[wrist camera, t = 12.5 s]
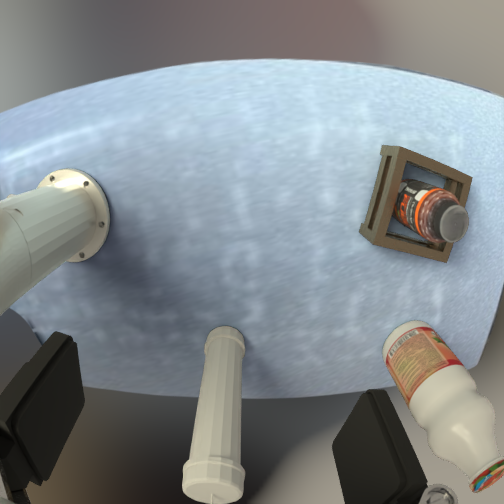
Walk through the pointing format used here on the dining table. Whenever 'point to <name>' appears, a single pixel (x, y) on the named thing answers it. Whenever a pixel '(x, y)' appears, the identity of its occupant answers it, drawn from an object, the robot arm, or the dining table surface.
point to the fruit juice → (445, 402)
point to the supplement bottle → (430, 212)
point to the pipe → (218, 423)
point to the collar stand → (387, 195)
